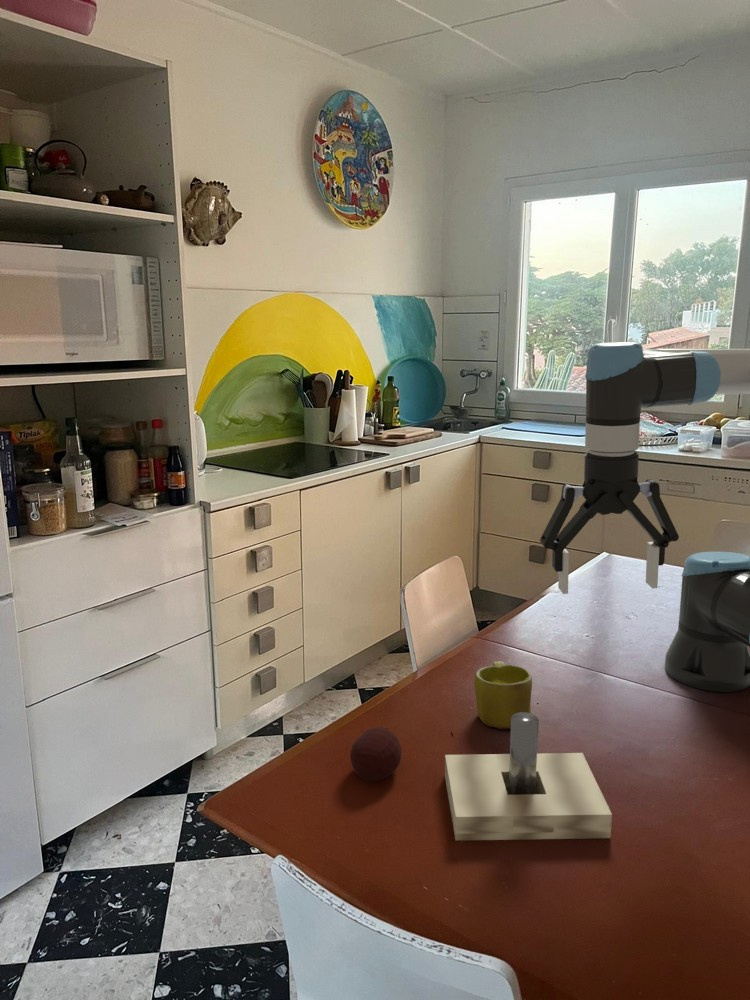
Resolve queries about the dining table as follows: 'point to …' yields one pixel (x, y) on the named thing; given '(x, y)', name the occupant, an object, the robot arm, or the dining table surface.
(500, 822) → the block
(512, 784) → the pin
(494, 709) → the mug
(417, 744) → the dining table surface
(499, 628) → the dining table surface
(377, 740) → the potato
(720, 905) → the dining table surface
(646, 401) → the robot arm
